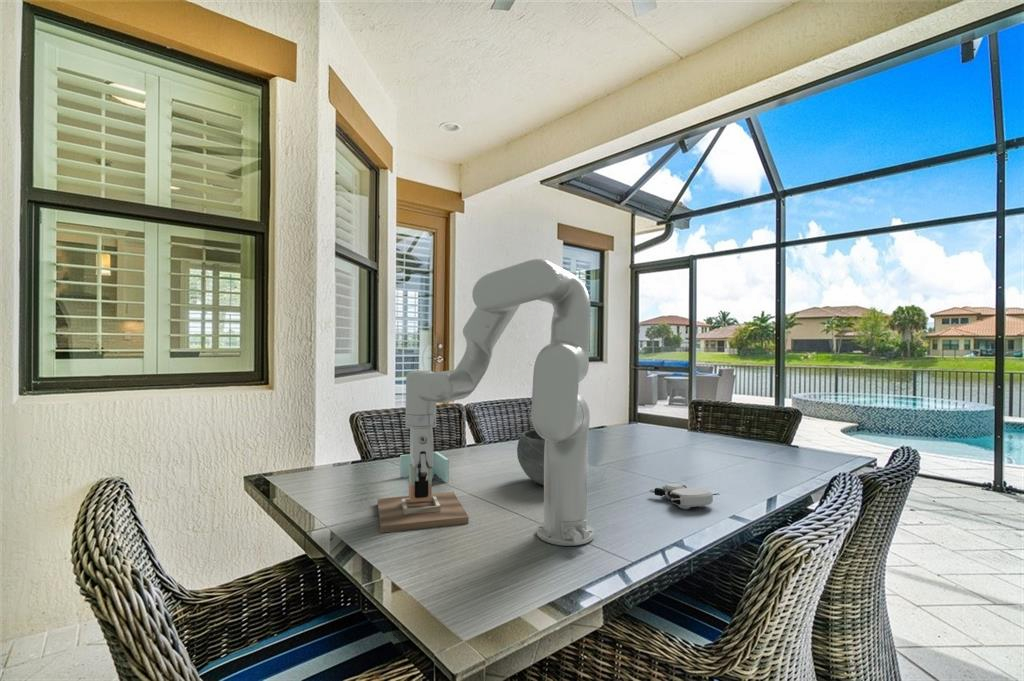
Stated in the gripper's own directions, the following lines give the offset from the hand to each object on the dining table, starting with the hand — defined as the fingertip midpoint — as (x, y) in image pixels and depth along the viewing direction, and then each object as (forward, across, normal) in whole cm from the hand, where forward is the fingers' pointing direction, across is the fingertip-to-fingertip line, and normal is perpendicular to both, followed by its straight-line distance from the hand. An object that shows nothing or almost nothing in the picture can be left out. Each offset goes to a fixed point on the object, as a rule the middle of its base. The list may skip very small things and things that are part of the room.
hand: (420, 492), depth 120 cm
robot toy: (+5, -12, -68) cm, 69 cm away
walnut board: (+5, 0, 0) cm, 5 cm away
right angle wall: (+6, +30, -5) cm, 31 cm away
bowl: (+5, +15, -41) cm, 44 cm away
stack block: (+1, 0, 0) cm, 1 cm away
